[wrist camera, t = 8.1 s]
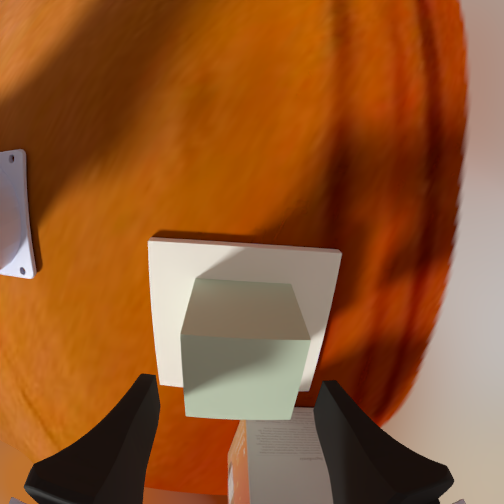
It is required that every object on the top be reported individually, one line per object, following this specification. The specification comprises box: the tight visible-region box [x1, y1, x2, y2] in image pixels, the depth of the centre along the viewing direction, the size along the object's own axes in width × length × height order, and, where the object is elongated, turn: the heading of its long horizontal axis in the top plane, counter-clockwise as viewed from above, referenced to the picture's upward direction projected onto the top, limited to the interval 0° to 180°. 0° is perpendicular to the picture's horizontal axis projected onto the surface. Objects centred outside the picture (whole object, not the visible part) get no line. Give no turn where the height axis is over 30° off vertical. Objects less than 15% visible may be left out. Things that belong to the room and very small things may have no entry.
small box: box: [228, 407, 333, 504], centre depth 17 cm, size 8×6×10 cm
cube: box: [180, 278, 311, 420], centre depth 14 cm, size 5×5×5 cm
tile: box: [148, 237, 342, 391], centre depth 17 cm, size 10×10×1 cm
